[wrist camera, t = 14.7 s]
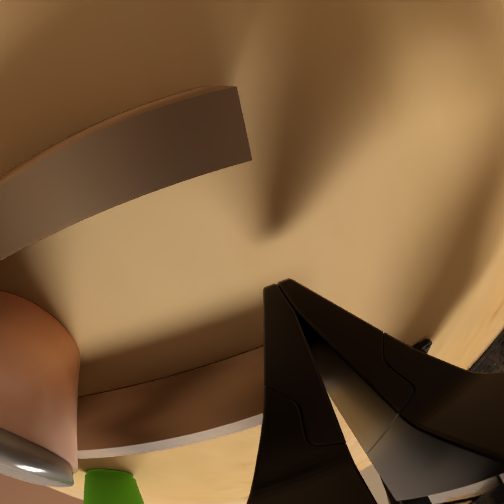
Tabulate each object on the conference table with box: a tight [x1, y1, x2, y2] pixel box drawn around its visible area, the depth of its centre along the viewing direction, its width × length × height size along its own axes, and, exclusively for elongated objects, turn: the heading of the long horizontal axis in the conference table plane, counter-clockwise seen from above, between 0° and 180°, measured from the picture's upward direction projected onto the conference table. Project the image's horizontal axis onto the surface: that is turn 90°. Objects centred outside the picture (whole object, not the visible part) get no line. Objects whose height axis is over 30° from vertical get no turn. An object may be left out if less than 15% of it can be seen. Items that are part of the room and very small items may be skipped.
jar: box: [0, 291, 80, 487], centre depth 6 cm, size 6×6×5 cm
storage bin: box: [468, 330, 504, 373], centre depth 42 cm, size 29×19×13 cm
